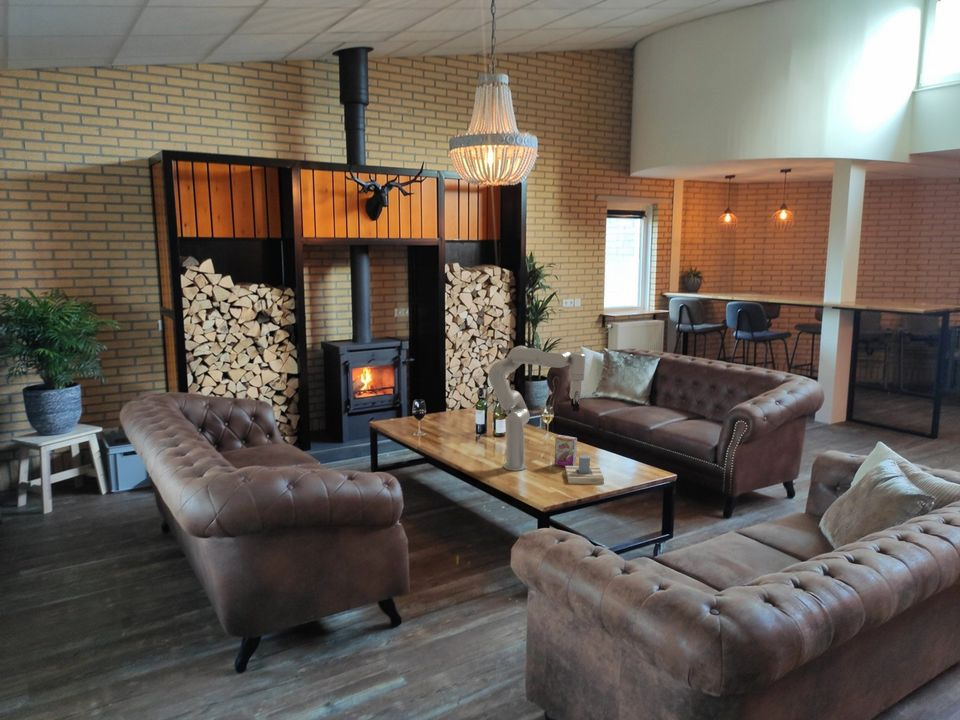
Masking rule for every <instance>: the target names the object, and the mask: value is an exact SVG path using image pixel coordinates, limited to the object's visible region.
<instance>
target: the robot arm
mask: <svg viewBox="0 0 960 720" xmlns="http://www.w3.org/2000/svg"><path fill="white" fill-rule="evenodd" d="M508 353H509V354H508V355H507V356H506V357H505V358H504V359H501V360H498V361H496V362H495V363H493V364H492V365H491V367H490V369H489V371H488V379H489V382H490V385H491V386H492V389H493V391H494V393H495V396H496V398H497V400H498V402H499V406H501V408H502V409H503V410H504V411H510V412H509V413H508V414H507V416H506V418H505V428H506V463H504V464H503V469H505V470H506V471H514V472H515V471H516V472H518V471H524V470H526V469H527V464H526V463H525V461H524V460H525V431H524V426H525V425H526V424H527V423H528V422H529V421H530V418H531V417H530V415H531V414H530V411H529V409H528V407H527V404H526V403H525V400H524V398H523V396H522V394H521V393H520V392H519V391H517V390H515V389H514V390H513V389H511V387H510V385H509V383H508V380H506V379H505V376H507V375H510V374H512V373H513V372H514V371H516V370H517V369H518V368H519V367H520V366H521V365H523V364H524V365H526V364H527V365H535V366H536V365H537V366H542V367H547V368H560V369H561V368H564V367H566V366H569V378H568V379H569V381H570V385H569V398H570V407H571V408H572V411H573V412H579V411H580V399H581V396H582V395H581V394H582V382H583V381H585V367H586V354H584V353H581V352H572V351H568V350H563V351H560V352H546V351H543V350H541V349H540V348H536V347H535V348H533V347H527V346H525V345H517V346H515V347H513V348H511V349H510V351H509V352H508Z"/></svg>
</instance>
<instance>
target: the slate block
mask: <svg viewBox="0 0 960 720" xmlns="http://www.w3.org/2000/svg"><path fill="white" fill-rule="evenodd" d="M590 459H591V457H590V456H589V455H586V454H585V455H582V454H581V455H580V454H579V455H578V466H579V472H580V473H589V470H590V466H591V463H590V461H591V460H590Z"/></svg>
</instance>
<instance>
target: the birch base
mask: <svg viewBox="0 0 960 720" xmlns="http://www.w3.org/2000/svg"><path fill="white" fill-rule="evenodd" d="M564 472H565V476H566V479H567V483H568V484H576V485H577V484H579V485H580V484H581V485H582V484H583V485H584V484H585V485H586V484H587V485H595V484H596V485H604V484H605V478H604V475H603V472H602V471H601V469H600V466H597V465H595V466H591V465H590V470H589V473H580V472H579V465H576V466H565V468H564Z"/></svg>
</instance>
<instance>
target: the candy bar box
mask: <svg viewBox="0 0 960 720" xmlns="http://www.w3.org/2000/svg"><path fill="white" fill-rule="evenodd" d="M577 447H578V438H577V437H573V436H569V435H562V434H558V435H556V436H555V444H554V449H555V450H554V466H559V467H565V466H577V450H578V449H577Z"/></svg>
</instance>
